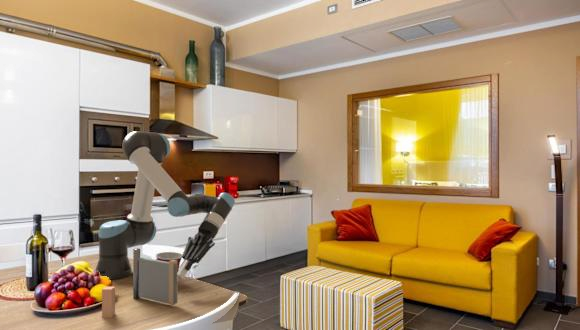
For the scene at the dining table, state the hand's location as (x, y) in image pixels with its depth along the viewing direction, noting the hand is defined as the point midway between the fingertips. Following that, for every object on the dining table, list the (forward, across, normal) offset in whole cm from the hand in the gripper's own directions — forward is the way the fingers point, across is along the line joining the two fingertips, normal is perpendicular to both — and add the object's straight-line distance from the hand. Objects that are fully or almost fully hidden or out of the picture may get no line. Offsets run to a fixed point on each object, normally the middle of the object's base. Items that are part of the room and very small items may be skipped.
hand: (179, 276), depth 148 cm
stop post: (+23, +6, +12) cm, 26 cm away
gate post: (+12, +13, +1) cm, 17 cm away
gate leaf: (+10, +2, +1) cm, 11 cm away
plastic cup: (-1, +17, -12) cm, 21 cm away
